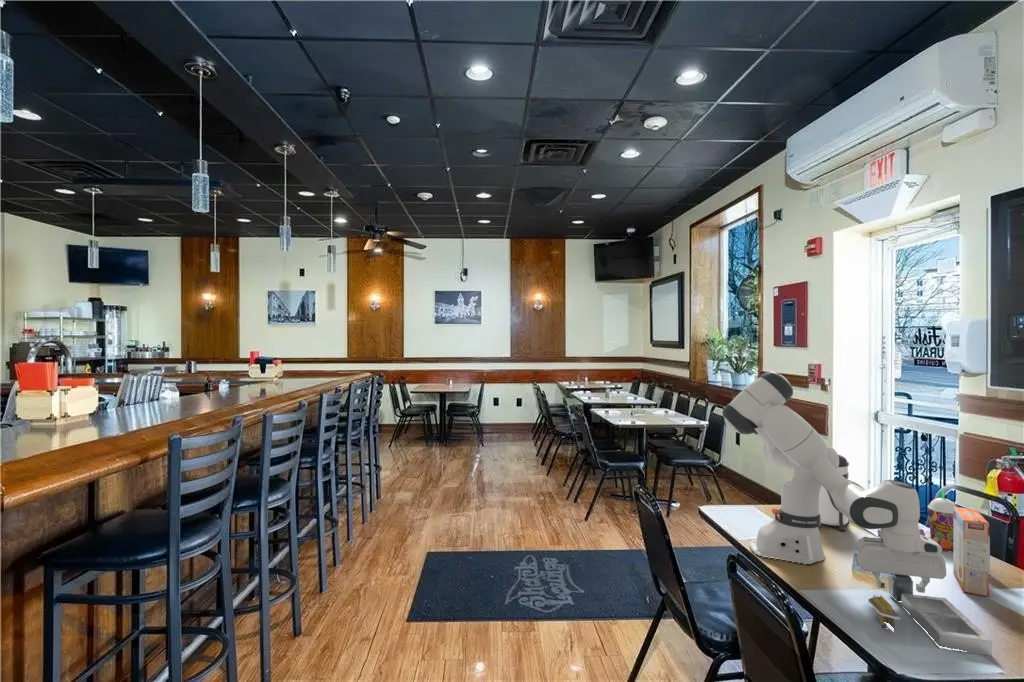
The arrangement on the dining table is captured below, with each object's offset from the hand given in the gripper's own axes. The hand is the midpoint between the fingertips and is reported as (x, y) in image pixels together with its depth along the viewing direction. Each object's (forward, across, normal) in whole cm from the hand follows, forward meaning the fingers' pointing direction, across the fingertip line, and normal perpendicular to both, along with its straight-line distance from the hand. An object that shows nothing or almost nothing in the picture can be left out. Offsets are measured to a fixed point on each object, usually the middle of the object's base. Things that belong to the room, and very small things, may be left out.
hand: (900, 589), depth 143 cm
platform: (+3, -10, -16) cm, 19 cm away
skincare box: (+3, +30, +26) cm, 40 cm away
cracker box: (+3, +23, +14) cm, 27 cm away
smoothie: (+3, +29, +44) cm, 52 cm away
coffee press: (+3, -1, +60) cm, 61 cm away
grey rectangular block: (+3, 0, 0) cm, 3 cm away
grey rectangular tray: (+3, +4, -14) cm, 15 cm away
